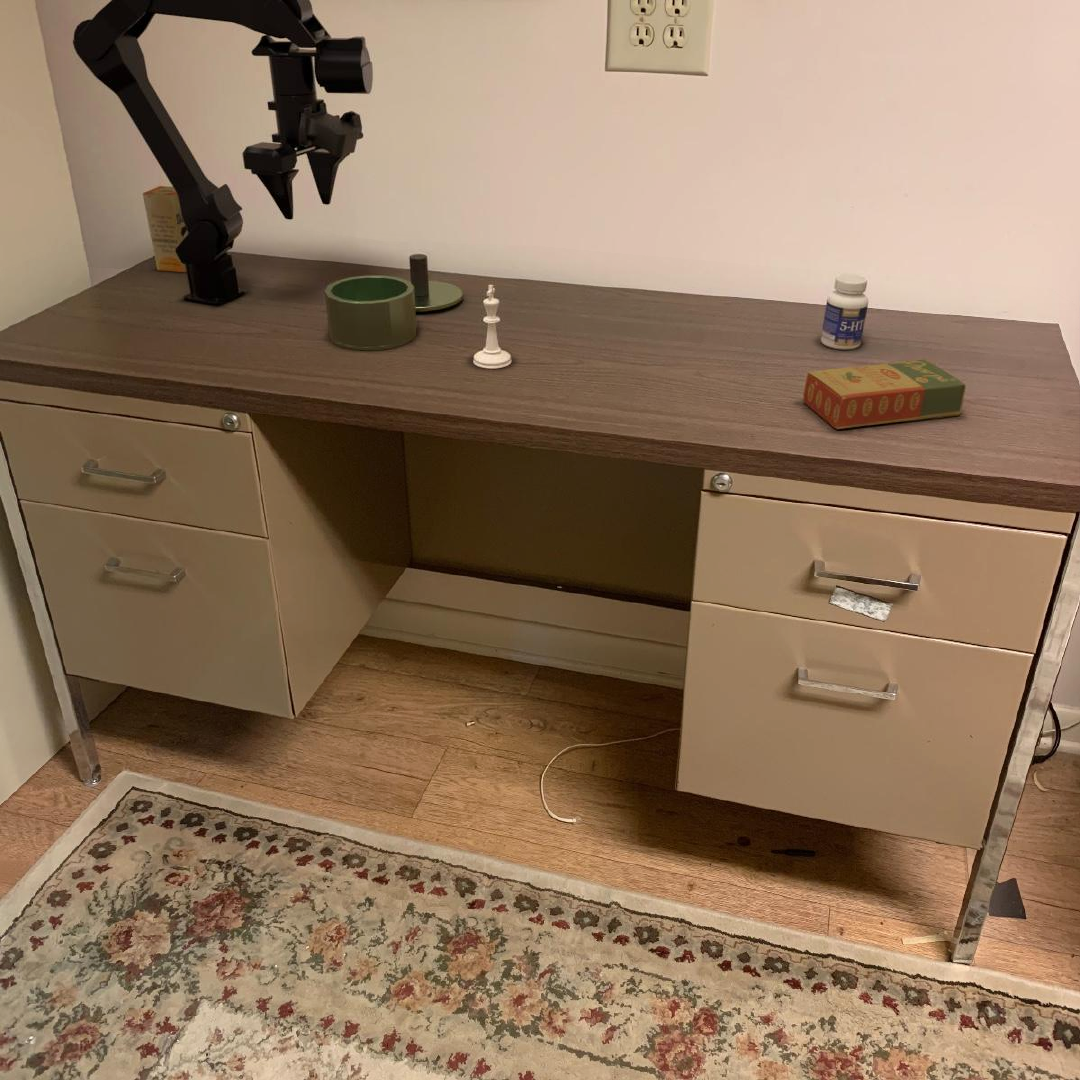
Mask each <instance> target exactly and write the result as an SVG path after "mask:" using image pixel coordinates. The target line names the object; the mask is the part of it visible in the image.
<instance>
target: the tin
mask: <svg viewBox="0 0 1080 1080" xmlns="http://www.w3.org/2000/svg"><path fill="white" fill-rule="evenodd" d="M409 281H410V280H406V279H404V278H401V277H399V276H390V275H372V274H371V275H369V274H368V275H357V276H351V277H347V278H343V279H338V280H336V281H334V282H332V283H330V284H328V285H327V287H326V288H325V290H324V297H325V307H326V308H325V309H326V317H327V325H328V327H327V328H328V335H329V337H330V341H331V342H332V343H333V344H334V345H336V346H338V347H340V348H344V349H347V350H354V351H364V352H365V351H368V352H369V351H370V352H371V351H383V350H390V349H394V348H398V347H401V346H404V345H406V344H408V343H410V342H411V341H413V340H414V339H415V338H416V336H417V314H416V313H417V311H415V295H414V286H413V285H412V284H411V283H410V282H409Z"/></svg>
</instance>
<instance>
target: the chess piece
mask: <svg viewBox="0 0 1080 1080" xmlns="http://www.w3.org/2000/svg"><path fill="white" fill-rule="evenodd" d="M494 293H496V288H494V285H493V284H488V291H486V296H487V298H485V299H484V300H483V302H482V304H483V306H484V309H485V313H486V316H484V317H483V319H482V320H483V322H484V323H485V324H487V330H486V331H487V332H486V341H485V347H483V349H482V350H480V351H479V350H478V351H477V352H476V353H475V354H474V355H473V359H472V361H473V364H474V365H475V366H476V367H479V368H482V369H490V370H491V369H492V370H494V369H495V370H496V369H502V368H506V367H508V366H509V365H511V364H512V363H513V362H512V355H511V353H509V352H508V351H506V350H503V349H502V348H501V347H500V346H499V341H498V334H497V326H496V324H497V323H499V322H500V321H501V319H500V317H499V316H498V315H496V314H497V313H498V312H497V311H498V308H499V305H500V300H499V299H498V298H496V297H494Z"/></svg>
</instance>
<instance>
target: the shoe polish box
mask: <svg viewBox="0 0 1080 1080" xmlns="http://www.w3.org/2000/svg"><path fill="white" fill-rule="evenodd" d="M142 197H143V202H144V208H145V213H146V219H147V223H148V228H149V233H150V239H151V243H152V248H153V254H154V257H155V258H154V259H155V264H156V269H157V271H164V272H177V273H187V271H186V266H185V264H182V263H181V261H180V259H179V257H178V255H177V254H176V251H175V249H176V248H177V247H178V246H179V244H180V243H181V242H182V241H183V240H184V238H185V237H186V236H187V235H188V234H189V233H188V231H187V229H186V226H185V224H184V222H183V219H182V216H181V211H180V205H179V200H178V195H177V193H176V191H175V189H174V188H173V186H166V185H165V186H164V185H159V186H156V187H154V188H152V189H150V190H149V189H148V190H147V191H145V192H143V193H142Z"/></svg>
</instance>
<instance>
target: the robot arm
mask: <svg viewBox="0 0 1080 1080" xmlns="http://www.w3.org/2000/svg"><path fill="white" fill-rule="evenodd" d="M155 15H164V16H172V17H181V18H191V19H198V20H199V19H200V20H207V21H217V22H226V23H233V24H235V25H239V26H242V27H245V28H246V29H249V30H251V31H253V32H256V33H259V34H263V35H262V36H261V37H260V39H259V42H258V44H257V45H256V46H255V47H254V48H252V49H251V55H252V56H254V57H268V63H269V72H270V79H271V87H272V89H271V90H272V97H273V100H270V101H267V110H268V111H273V112H275V113H274V114H275V121H276V128H277V130H276V131H277V132H276V133H272V134H271V141H272V142H267V141H266V142H264V141H261V142H258V143H255V144H251V145H248V146H246V147H245V148H244V150H243V152H242V162H243V168H244V169H245V170H249V171H250V172H251V174H252V175H256V177H257V178H258V179H259V181H260V182H261V183H262V184H263V186H264V188H265V189H266V190H267V193H269V195H270V196H271V198H272V200H273V201H274V203H275V204H276V206H277V207H278V209H279V211H280V212H281V214H282V216H283V218H284V219H285V220H289V221H291V220H293V219H294V193H293V192H294V191H293V180H294V179H295V177H296V176H297V174H298V173H299V171H300V169H298V168H296V165H297V163H298V157H300V156H303V155H306V157H307V161H308V163H309V167H310V170H311V173H312V176H313V180H314V183H315V186H316V189H317V193H318V195H319V198H320V200H321V201H320V202H321V203H322V204H323V205H326V206H329V205H330V204H331V201H332V197H333V192H334V187H335V181H336V177H337V174H338V169H339V166H340V164H341V163H342V162H343V161H344V160H345V159H346V158H347V157H348V156H350V155H351V154H353V153H355V152H356V147H357V142H358V140H361V139H363V138H364V133H363V124H362V119H361V115H360V113H357V112H355V111H354V110H350V111H347V112H344V113H343V114H342V115H341V116H340V115H338V114H336V115H332V114H331V113H328V110H327V104H326V102H325V99H322V98H318V95H317V86H316V84H317V85H319V88H323V89H324V91H325V92H326V93H327V94H355V95H356V94H357V95H361V94H362V95H369V94H371V92H372V88H373V82H374V81H373V79H374V68H373V61H371V57H370V53H369V52H370V51H369V49H368V47H367V43H366V37H365V36H353V37H332V36H331V35H330V33H329V31H327V29H326V28H325V27H324V26H323V24H322V23H321V21H320V20H319V19H318V18H317V15H315V13H314V11H313V4H312V2H311V0H110V1H109V2H108V3H107V4H106V5H104V6H103V7H102V8H101V9H100V10H99V11H98V12H97V13H96V14H95V15H94V16H93V17H92V18H89V19H86V20H83V21H81V22H80V23H79V24H77V25H76V27H75V30H74V31H73V39H72V45H73V49H74V52H75V54H76V55H77V57H79V59H80V60H81V62H83V64H84V65H85V66H86V67H87V69H88V70H89V71H90V73H91V74H92V75H93V76H94V77H95V78H96V79H97V80H98V81H100V83H102V84H103V85H104V86H106V87H107V88H108V89H109V90H110V91H112V92H113V93H114V94H115V96H117V98H118V99H119V101H120V103H121V104H122V106H123V108H124V109H125V111H126V112H127V114H128V116H129V117H130V119H131V120H132V122H133V123H134V125H135V127H136V129H137V130H138V132H139V134H140V135H141V137H142V138H143V141H144V142H145V143H146V145H147V147H148V149H149V150H150V152H151V153H152V155H153V157H154V159H155V160H156V162H157V163H158V165H159V166H160V168H161V170H162V171H163V173H164V174H165V176H166V178H167V179H168V181H169V183H170V184H171V187H173V188H174V189H175V191H176V193H177V195H178V200H179V205H180V211H181V216H182V219H183V222H184V224H185V226H186V229H187V231H188V233H189V234H188V235H187V236H186V237H185V238H184V240H183V241H182V242H181V243H180V244H179V246H178V247H177V248H176V249H175V251H176V254H177V255H178V257H179V259H180V261H181V263H182V264H185V266H186V271H187V272H186V276H187V282H188V287H189V293H187V294H186V295H183V301H188V302H189V301H190V302H195V303H201V304H207V305H212V306H220V305H223V304H225V303H226V302H229V301H230V300H233V299H235V298H237V297H240V296H241V295H244V294H245V289H242V288H239V282H238V276H237V270H236V269H237V268H236V266H234V262H233V255H232V254H229V253H227V252H228V251H230V250H231V249H233V247H234V243H235V240H236V238H238V237H239V236H240V235H241V233H242V230H243V224H244V219H243V215H242V214H241V211H243V207H242V206H241V205H240V204H239V203H238V202H237V201H236V200H235V198H234V196H233V194H232V193H233V192H232V191H231V188H230V186H229V185H228V184H227V183H225V184H223V185H221V186H219V187H218V186H217V185H215V184H214V183H213V182H212V181H211V180H210V179H209V178H207V176H206V175H205V173H204V171H203V170H202V168H201V166H200V165H199V162H198V160H197V159H196V158H195V156H194V154H193V153H192V150H191V149H190V148H189V146H188V144H187V143H186V141H185V139H184V138H183V135H182V133H181V132H180V131H179V129H178V128H177V126H176V123H175V122H174V121H173V118H172V117H171V115H170V113H169V112H168V111H167V109H166V107H165V105H164V104H163V102H162V100H161V99H160V96H159V95H158V93H157V92H156V90H155V88H154V87H153V85H152V84H151V82H150V80H149V76H148V69H147V65H146V60H145V55H144V52H143V50H142V47H141V45H140V42H139V40H138V39H140V37H141V36H142V35H143V33H145V31H146V30H147V29H148V27H149V25H150V24H151V22H152V20H153V19H154V17H155ZM274 38H275V39H287V41H285V40H282V41H280V40H275V39H274Z"/></svg>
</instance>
